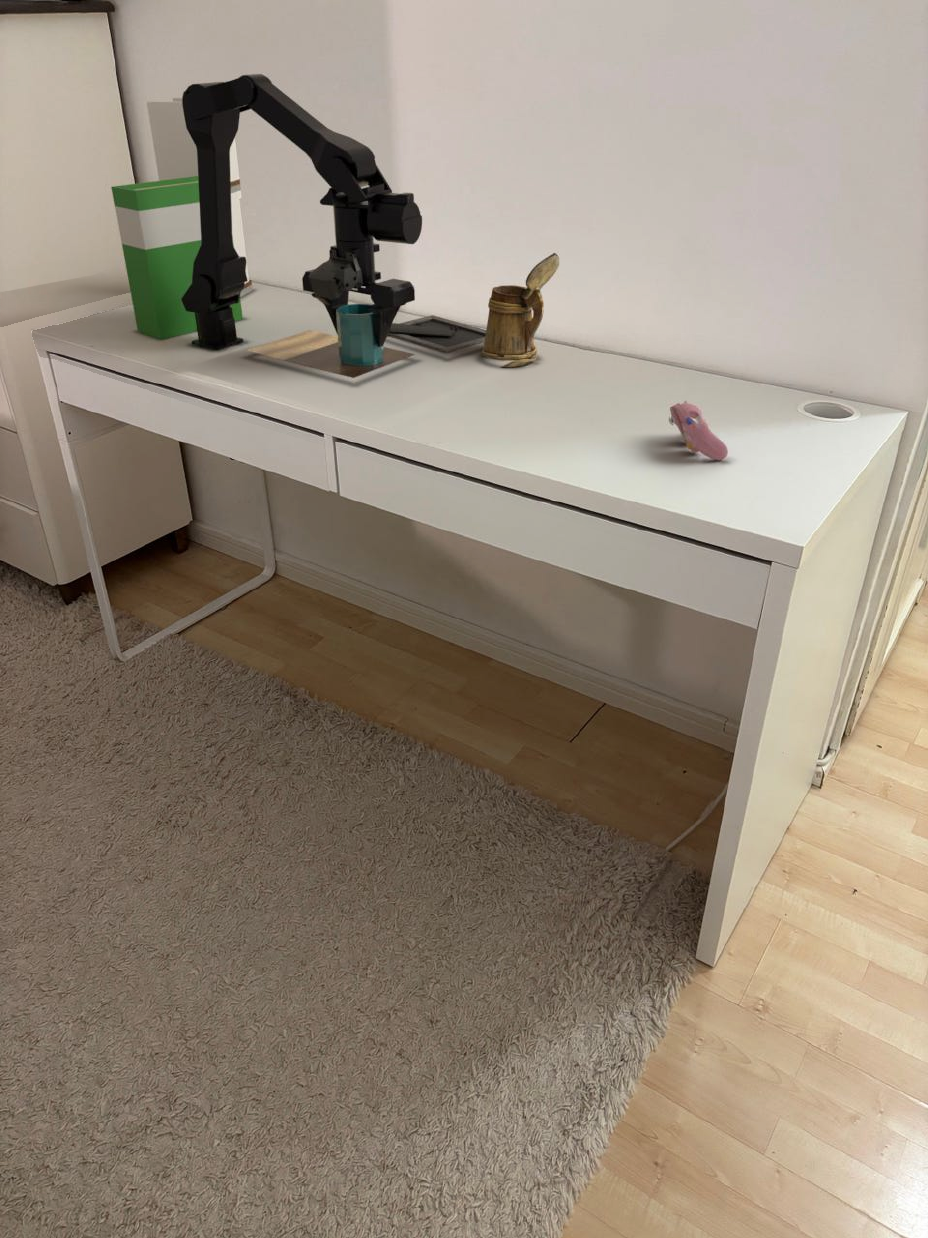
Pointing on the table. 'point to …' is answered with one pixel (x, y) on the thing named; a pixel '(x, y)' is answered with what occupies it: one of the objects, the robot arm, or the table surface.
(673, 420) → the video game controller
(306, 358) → the serving board
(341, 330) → the teal cup
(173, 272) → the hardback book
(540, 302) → the wooden mug
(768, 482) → the table surface
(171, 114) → the tall white box
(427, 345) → the picture frame
